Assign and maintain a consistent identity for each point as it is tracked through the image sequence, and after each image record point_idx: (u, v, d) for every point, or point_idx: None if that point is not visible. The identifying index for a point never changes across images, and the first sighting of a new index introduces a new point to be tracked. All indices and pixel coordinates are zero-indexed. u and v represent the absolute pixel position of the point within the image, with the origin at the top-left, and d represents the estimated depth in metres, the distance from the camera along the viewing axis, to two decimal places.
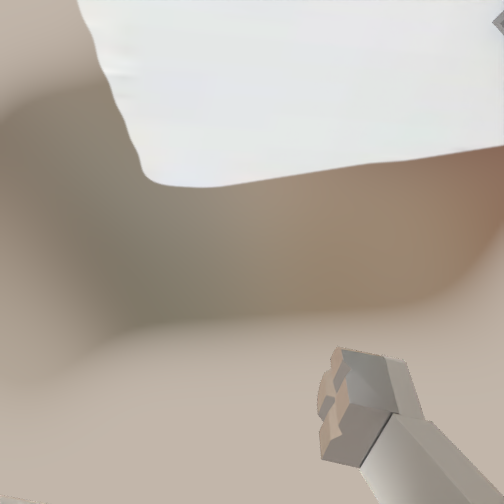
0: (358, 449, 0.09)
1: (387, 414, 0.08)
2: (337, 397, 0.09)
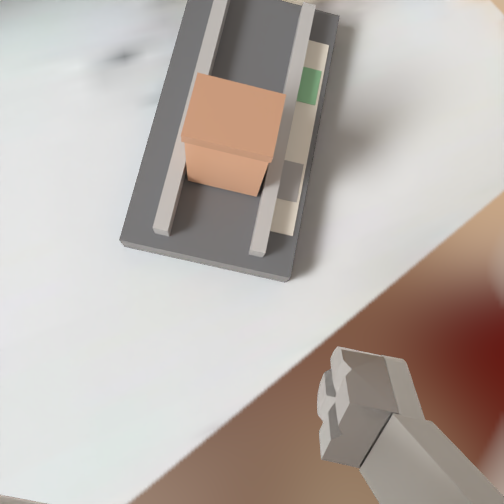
0: (358, 449, 0.09)
1: (387, 414, 0.08)
2: (337, 397, 0.09)
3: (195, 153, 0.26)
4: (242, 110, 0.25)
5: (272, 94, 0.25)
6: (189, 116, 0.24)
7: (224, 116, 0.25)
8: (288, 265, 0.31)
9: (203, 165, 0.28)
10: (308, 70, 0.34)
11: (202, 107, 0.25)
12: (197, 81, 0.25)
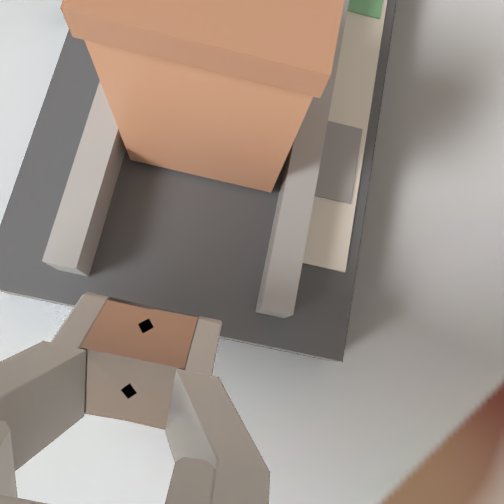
0: (158, 409, 0.08)
1: (173, 370, 0.08)
2: None
3: (122, 81, 0.10)
4: None
5: None
6: None
7: None
8: (338, 334, 0.15)
9: (151, 117, 0.12)
10: None
11: None
12: None
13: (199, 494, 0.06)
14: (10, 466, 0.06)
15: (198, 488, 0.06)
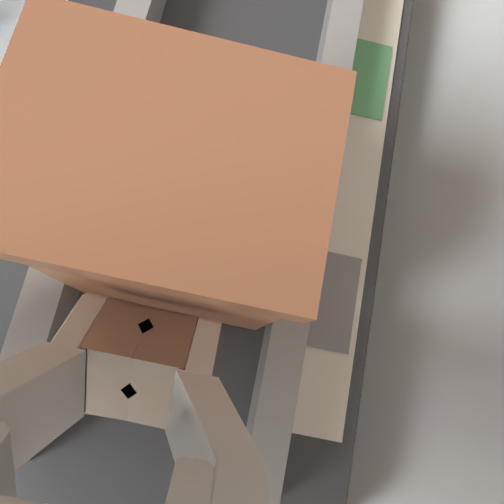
0: (158, 409, 0.08)
1: (173, 370, 0.08)
2: None
3: None
4: (195, 131, 0.06)
5: (309, 73, 0.07)
6: None
7: (124, 155, 0.06)
8: None
9: (99, 286, 0.10)
10: (363, 46, 0.16)
11: (37, 121, 0.06)
12: (26, 24, 0.07)
13: (199, 494, 0.06)
14: (10, 466, 0.06)
15: (198, 488, 0.06)
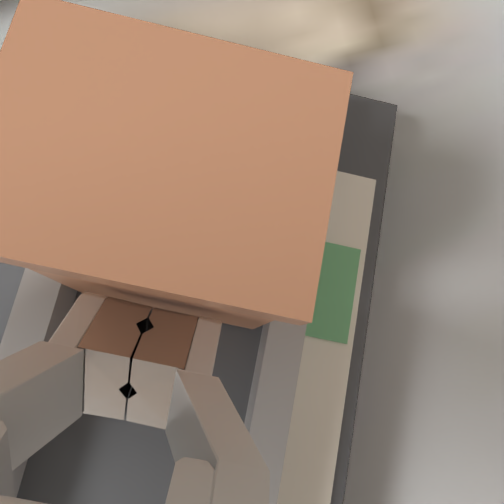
0: (158, 409, 0.08)
1: (173, 370, 0.08)
2: None
3: None
4: (189, 133, 0.06)
5: (305, 73, 0.07)
6: None
7: (118, 157, 0.06)
8: None
9: (95, 286, 0.10)
10: (327, 249, 0.14)
11: (31, 123, 0.06)
12: (20, 24, 0.07)
13: (199, 494, 0.06)
14: (7, 465, 0.06)
15: (198, 488, 0.06)
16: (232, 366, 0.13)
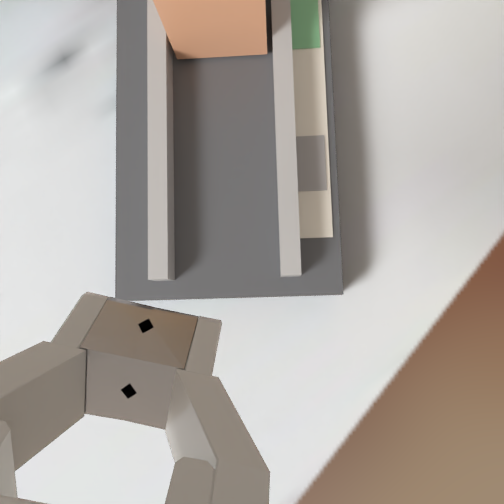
0: (158, 409, 0.08)
1: (173, 370, 0.08)
2: None
3: None
4: None
5: None
6: None
7: None
8: (336, 278, 0.23)
9: (184, 19, 0.21)
10: (299, 1, 0.25)
11: None
12: None
13: (199, 494, 0.06)
14: (10, 466, 0.06)
15: (198, 488, 0.06)
16: (261, 74, 0.24)
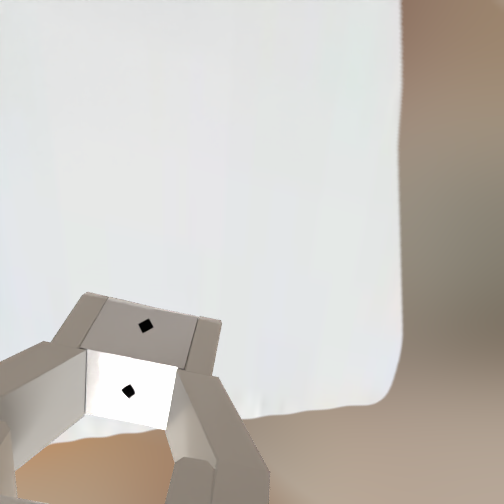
0: (157, 409, 0.08)
1: (173, 370, 0.08)
2: None
3: None
4: None
5: None
6: None
7: None
8: None
9: None
10: None
11: None
12: None
13: (199, 494, 0.06)
14: (10, 466, 0.06)
15: (198, 488, 0.06)
16: None
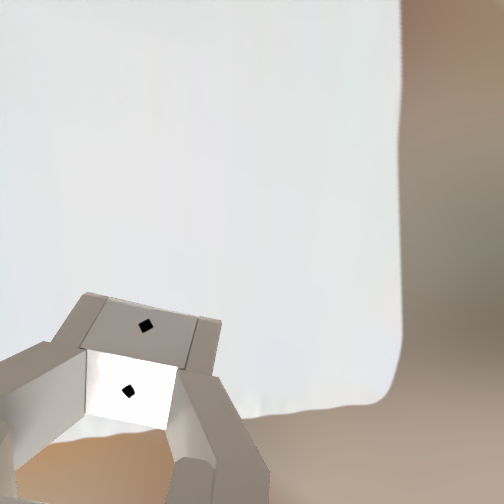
0: (158, 409, 0.08)
1: (173, 370, 0.08)
2: None
3: None
4: None
5: None
6: None
7: None
8: None
9: None
10: None
11: None
12: None
13: (199, 494, 0.06)
14: (10, 466, 0.06)
15: (198, 488, 0.06)
16: None
